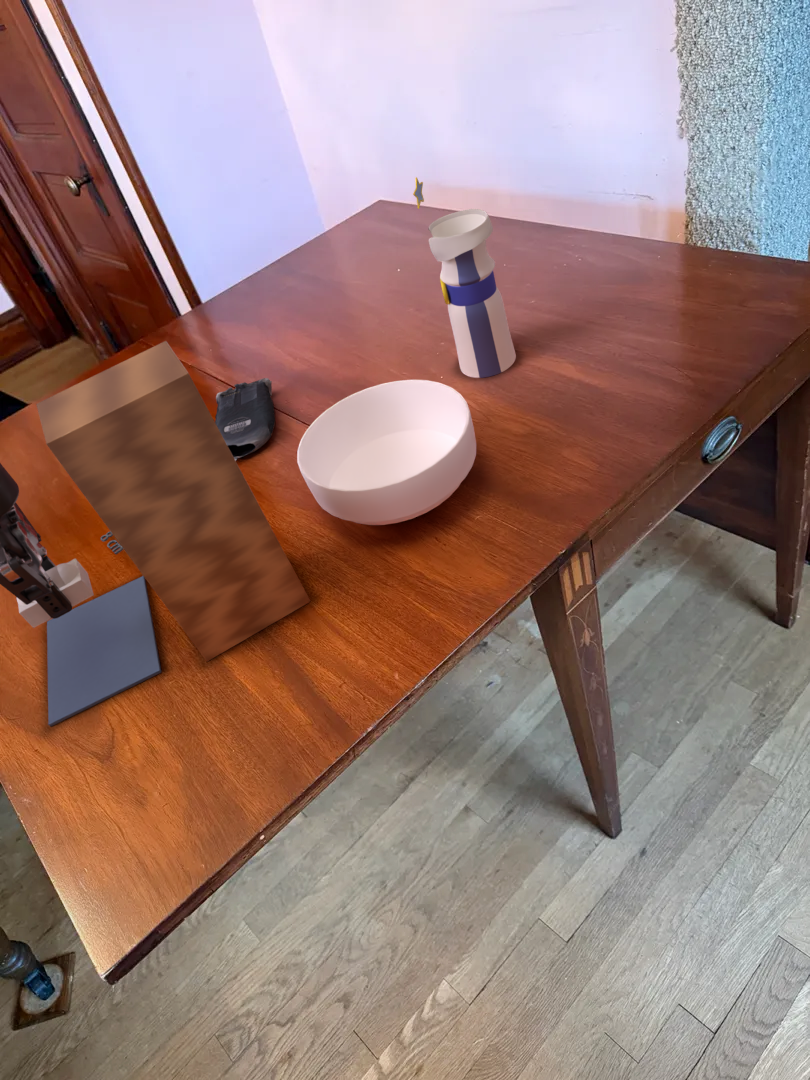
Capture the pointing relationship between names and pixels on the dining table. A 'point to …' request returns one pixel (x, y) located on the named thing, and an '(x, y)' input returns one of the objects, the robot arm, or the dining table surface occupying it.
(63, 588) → the white boxy piece
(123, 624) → the mouse pad
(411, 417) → the bowl
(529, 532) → the dining table surface
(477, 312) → the water bottle
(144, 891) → the dining table surface
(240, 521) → the block
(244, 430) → the electronic device
